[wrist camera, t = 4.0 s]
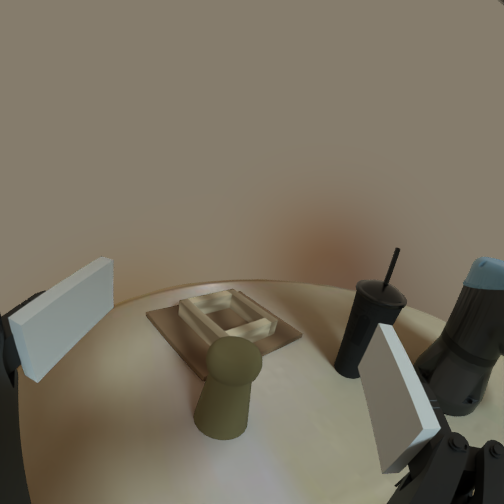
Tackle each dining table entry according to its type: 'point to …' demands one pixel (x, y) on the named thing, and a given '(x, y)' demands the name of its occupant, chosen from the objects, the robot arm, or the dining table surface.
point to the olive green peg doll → (227, 387)
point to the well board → (219, 326)
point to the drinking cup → (368, 319)
